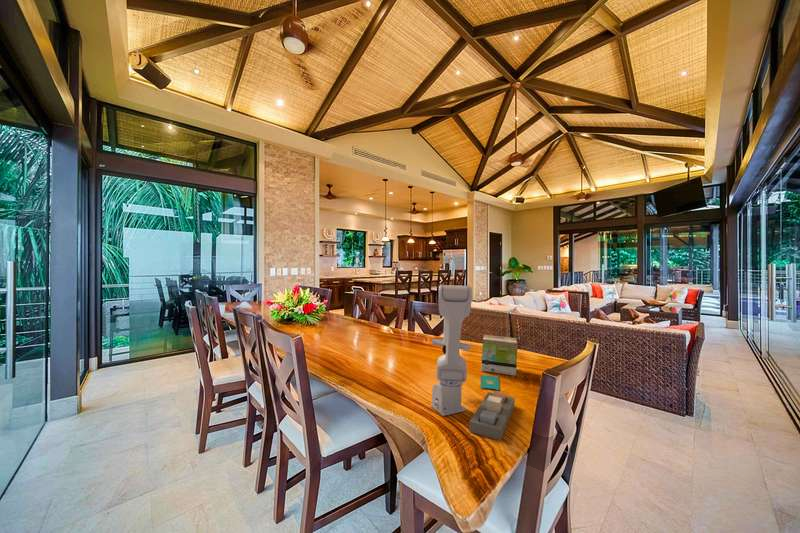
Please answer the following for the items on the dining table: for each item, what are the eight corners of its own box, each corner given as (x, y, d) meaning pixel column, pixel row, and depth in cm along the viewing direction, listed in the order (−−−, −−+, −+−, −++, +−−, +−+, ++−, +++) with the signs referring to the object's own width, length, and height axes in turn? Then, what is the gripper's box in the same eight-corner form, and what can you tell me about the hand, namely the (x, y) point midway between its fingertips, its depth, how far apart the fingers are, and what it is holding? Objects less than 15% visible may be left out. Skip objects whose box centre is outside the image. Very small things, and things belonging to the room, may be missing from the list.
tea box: (481, 371, 144) (482, 339, 143) (482, 364, 153) (483, 334, 153) (516, 376, 139) (517, 342, 139) (515, 368, 149) (516, 337, 148)
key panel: (500, 440, 89) (501, 430, 89) (469, 431, 94) (469, 421, 94) (514, 406, 111) (514, 397, 111) (488, 400, 115) (488, 391, 115)
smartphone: (498, 376, 137) (500, 389, 123) (498, 378, 137) (500, 392, 123) (481, 374, 139) (480, 387, 125) (481, 376, 139) (480, 389, 125)
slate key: (493, 434, 92) (493, 418, 92) (479, 430, 94) (480, 415, 94) (496, 427, 96) (496, 413, 96) (482, 424, 98) (483, 409, 98)
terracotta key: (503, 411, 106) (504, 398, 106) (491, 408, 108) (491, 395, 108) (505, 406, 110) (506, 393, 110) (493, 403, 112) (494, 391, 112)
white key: (499, 416, 99) (499, 402, 99) (486, 413, 101) (486, 399, 101) (501, 411, 103) (502, 398, 103) (488, 408, 105) (489, 395, 105)
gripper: (472, 331, 122) (471, 366, 122) (437, 326, 129) (436, 360, 129) (467, 335, 116) (466, 372, 116) (430, 329, 122) (429, 365, 123)
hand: (450, 366), depth 122 cm, fingers closed
